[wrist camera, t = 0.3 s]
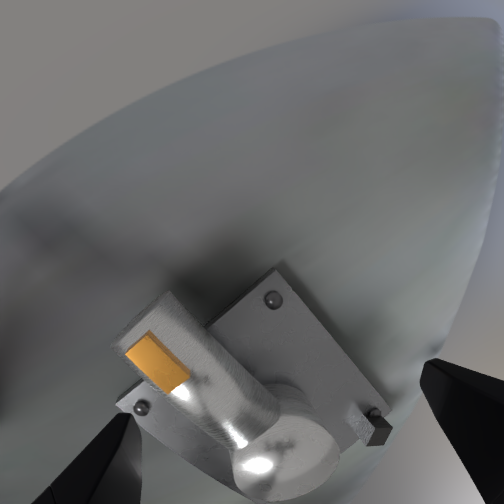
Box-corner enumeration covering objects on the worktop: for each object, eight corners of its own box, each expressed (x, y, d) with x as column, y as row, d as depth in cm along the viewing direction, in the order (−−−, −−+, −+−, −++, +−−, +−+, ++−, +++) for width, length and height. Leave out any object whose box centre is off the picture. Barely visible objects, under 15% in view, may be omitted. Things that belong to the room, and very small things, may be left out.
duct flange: (262, 500, 25) (269, 523, 22) (117, 397, 22) (108, 421, 18) (388, 407, 26) (406, 424, 23) (272, 267, 23) (285, 275, 19)
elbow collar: (327, 416, 23) (358, 461, 17) (262, 463, 23) (279, 514, 17) (186, 269, 20) (180, 291, 14) (113, 335, 20) (85, 375, 14)
